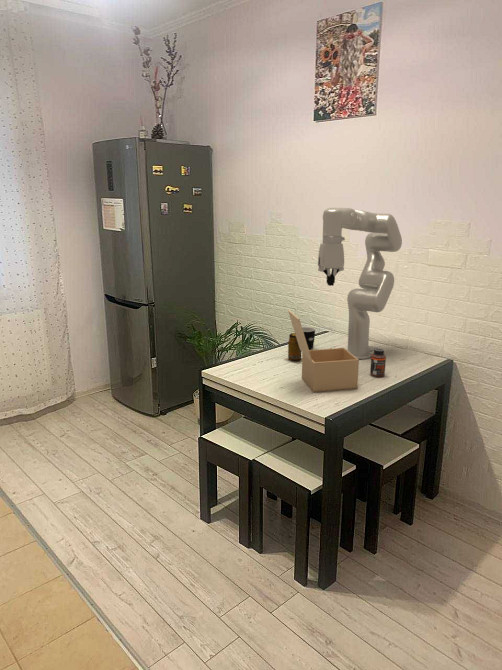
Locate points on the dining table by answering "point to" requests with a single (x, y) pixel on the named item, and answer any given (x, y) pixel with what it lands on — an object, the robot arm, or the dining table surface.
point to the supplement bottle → (378, 363)
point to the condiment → (293, 349)
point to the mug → (309, 336)
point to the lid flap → (299, 334)
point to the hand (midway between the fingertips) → (330, 285)
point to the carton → (330, 370)
